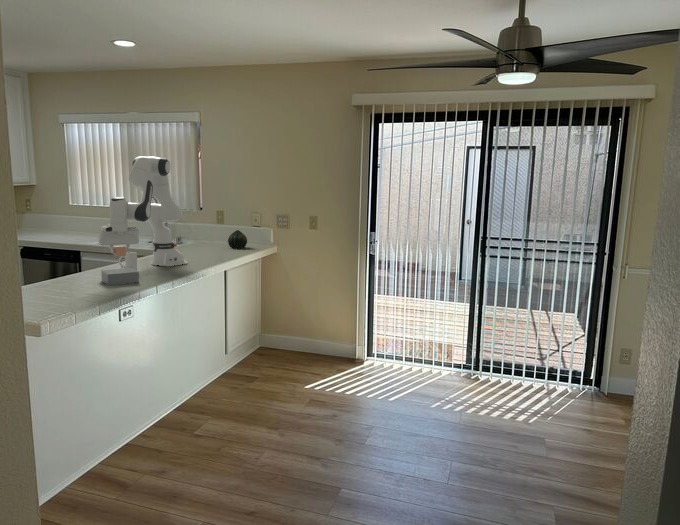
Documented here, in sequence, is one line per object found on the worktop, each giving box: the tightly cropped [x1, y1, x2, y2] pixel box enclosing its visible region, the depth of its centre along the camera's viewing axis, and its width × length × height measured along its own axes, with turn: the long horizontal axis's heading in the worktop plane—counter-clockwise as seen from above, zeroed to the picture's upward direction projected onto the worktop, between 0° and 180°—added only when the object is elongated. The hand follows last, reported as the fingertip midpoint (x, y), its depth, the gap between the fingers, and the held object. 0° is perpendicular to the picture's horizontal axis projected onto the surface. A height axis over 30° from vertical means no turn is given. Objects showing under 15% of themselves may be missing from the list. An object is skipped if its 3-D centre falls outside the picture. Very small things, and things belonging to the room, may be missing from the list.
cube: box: [112, 245, 127, 258], centre depth 280 cm, size 5×5×5 cm
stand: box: [100, 268, 140, 286], centre depth 283 cm, size 16×12×6 cm
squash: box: [227, 229, 248, 250], centre depth 413 cm, size 14×15×15 cm
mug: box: [118, 251, 138, 271], centre depth 306 cm, size 10×7×12 cm, turn 107°
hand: (119, 252), depth 281 cm, fingers closed on cube, 5 cm apart
